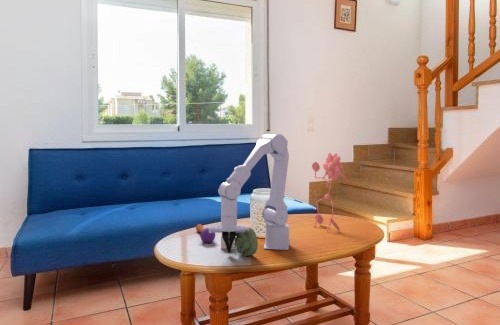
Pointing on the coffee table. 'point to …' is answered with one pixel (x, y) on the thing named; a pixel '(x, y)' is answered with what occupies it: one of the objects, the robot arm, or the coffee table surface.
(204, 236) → the kendama
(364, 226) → the coffee table surface
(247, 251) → the decorative artifact
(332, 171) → the figurine
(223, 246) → the letter cube
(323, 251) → the coffee table surface
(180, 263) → the coffee table surface
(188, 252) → the coffee table surface
